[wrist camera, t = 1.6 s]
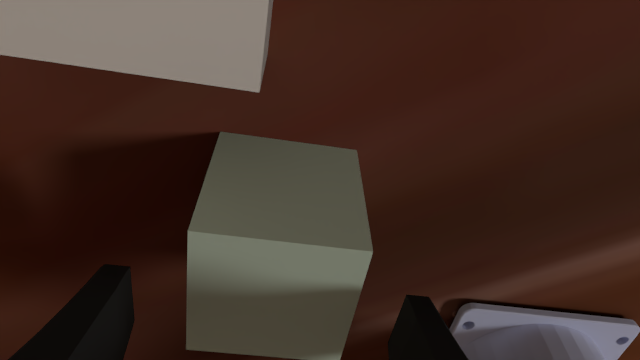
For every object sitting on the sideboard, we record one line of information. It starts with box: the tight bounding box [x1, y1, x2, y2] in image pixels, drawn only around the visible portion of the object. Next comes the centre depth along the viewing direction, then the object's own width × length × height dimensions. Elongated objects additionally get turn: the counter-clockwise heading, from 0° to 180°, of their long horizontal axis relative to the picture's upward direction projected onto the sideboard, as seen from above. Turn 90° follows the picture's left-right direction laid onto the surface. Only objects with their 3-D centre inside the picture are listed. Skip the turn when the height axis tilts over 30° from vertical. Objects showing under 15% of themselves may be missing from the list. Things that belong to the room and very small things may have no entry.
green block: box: [186, 132, 373, 360], centre depth 15 cm, size 4×4×5 cm
